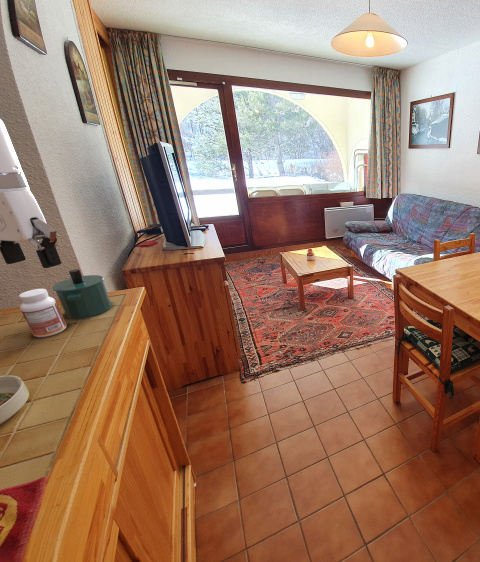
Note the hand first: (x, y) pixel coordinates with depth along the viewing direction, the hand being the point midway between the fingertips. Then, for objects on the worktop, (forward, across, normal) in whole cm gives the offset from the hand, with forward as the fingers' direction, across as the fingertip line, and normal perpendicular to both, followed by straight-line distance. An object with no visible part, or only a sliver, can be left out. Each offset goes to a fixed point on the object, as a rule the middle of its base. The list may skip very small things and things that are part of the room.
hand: (34, 264), depth 67 cm
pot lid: (+12, -11, +14) cm, 21 cm away
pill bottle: (+20, -9, +3) cm, 22 cm away
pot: (+20, -11, +14) cm, 27 cm away
